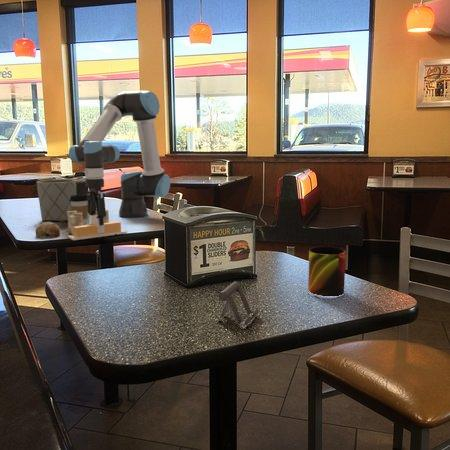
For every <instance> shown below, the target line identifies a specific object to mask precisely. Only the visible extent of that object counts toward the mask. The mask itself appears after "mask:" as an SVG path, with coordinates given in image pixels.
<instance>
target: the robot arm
mask: <svg viewBox="0 0 450 450" xmlns="http://www.w3.org/2000/svg"><path fill="white" fill-rule="evenodd" d="M160 108H161V106H160V100H159V98H158V96H157V95H156V94H155V92H153V91H151V90H134V91H133V90H131V91H128V90H127V91H122V92H119V93H117V94H116V95H115V96H113V97H112V98H110V100H109V101H108V102H107V103H106V104H105V105H104V107H103V112H102V113H101V115H99V117H98V118H97V120H96V121H95V122H94V124H93V125H92V127H91V128H90V129H89V130H88V132H87V133H86V134H85V136H84V137H83V139H82V140H81V141H80V142H79V144H74V145H71V146H70V147H69V149H68V156H69V159H70V161H72V162H74V163H84V170H83V171H84V174H85V178H86V179H85V187H86V188H87V189H89V190H86V194H87V198H88V201H87V205H88V212H87V214H89V215H90V216H89V217H90V218H89V219H90V224H97V227H98V233H104V217H106V210H107V209H106V202H105V196H106V195H105V193H102V190H101V189H102V188H104V187H105V180H104V175H105V171H104V164H107V163H111V164H112V163H114V162H117V161H118V160H119V159H120V156H121V155H120V154H121V152H120V150H119V147H118V146H115V145H112V144H108V145H107V144H106V145H103V141H104V140H105V138H106V137H107V136H108V134H109V133H110V131H111V130H112V129H113V127H114V125H116V123H117V122H119V121H121V119H122V118H124V117H127V116H128V117H129V116H131V117H132V122H135V123H136V127H137V133H138V134H137V135H138V141H139V146H140V152H141V153H140V154H141V157H142V158H141V159H142V165H143V170H140V171H133V172H132V171H131V172H126V173H125V172H124V173H122V174H121V175H120V190H121V192H120V193H121V203H120V208H119V209H118V216H119V217H123V218H139V217H140V218H141V217H146V216H148V213H149V211H148V208H147V206H146V203H145V198H144V197H150V198H151V197H153V198H154V197H155V198H162V197H165V196H167V194H168V193H169V191H170V188H171V177H170V176H169V174H165V169H164V168H163V167H161V160H160V153H159V148H158V147H159V146H158V139H157V134H156V133H157V132H156V126H155V120H157V115H158V114H159V113H160ZM96 210H97V213H96ZM96 214H97V215H98V216H97V215H96Z"/></svg>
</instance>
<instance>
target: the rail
mask: <svg viewBox="0 0 450 450" xmlns="http://www.w3.org/2000/svg"><path fill="white" fill-rule="evenodd" d="M121 229H122V223H121V222H120V221H109V222H106V223H104V233H98V227H97V224H91V223H90V224H87V225H81V226H73V234H72V235H73V236H75V237H83V236H90V235H98V234H105V233H113V232H120V231H121Z"/></svg>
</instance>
